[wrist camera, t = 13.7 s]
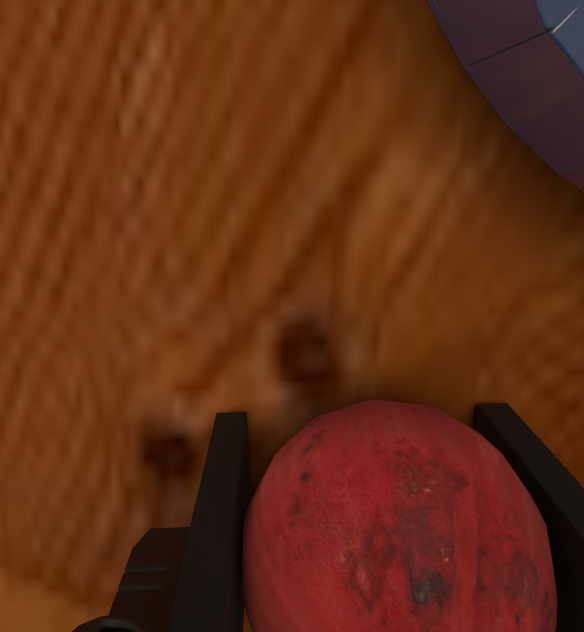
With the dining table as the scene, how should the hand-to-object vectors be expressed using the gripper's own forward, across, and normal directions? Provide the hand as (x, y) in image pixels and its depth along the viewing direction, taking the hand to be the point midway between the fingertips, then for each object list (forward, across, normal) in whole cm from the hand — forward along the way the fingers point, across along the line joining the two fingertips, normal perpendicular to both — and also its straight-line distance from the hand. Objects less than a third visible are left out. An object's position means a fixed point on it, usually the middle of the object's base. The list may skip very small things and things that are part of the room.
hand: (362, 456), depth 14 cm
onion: (0, 0, 0) cm, 0 cm away
